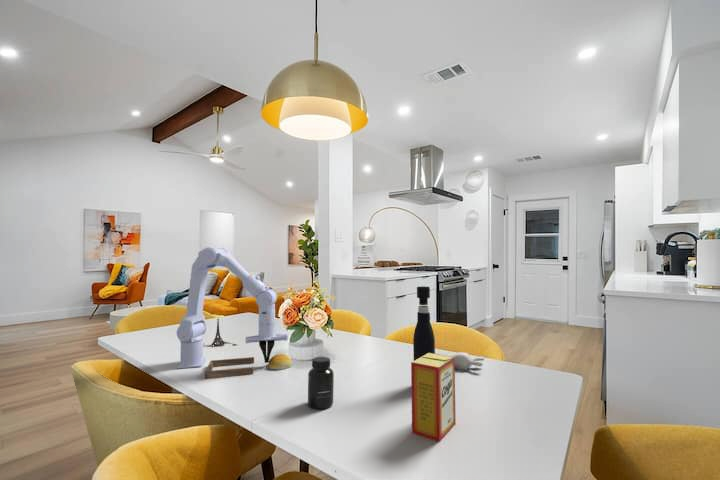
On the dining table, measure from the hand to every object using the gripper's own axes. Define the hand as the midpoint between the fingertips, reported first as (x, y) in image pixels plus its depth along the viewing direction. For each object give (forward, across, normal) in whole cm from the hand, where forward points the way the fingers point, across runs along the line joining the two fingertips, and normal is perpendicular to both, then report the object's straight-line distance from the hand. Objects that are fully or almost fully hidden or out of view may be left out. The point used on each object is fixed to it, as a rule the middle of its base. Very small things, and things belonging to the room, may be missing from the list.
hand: (266, 361), depth 124 cm
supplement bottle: (+2, +14, -36) cm, 39 cm away
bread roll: (+2, +5, 0) cm, 5 cm away
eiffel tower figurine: (+2, -20, +37) cm, 42 cm away
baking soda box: (+2, +36, -56) cm, 67 cm away
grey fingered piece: (+2, +66, -21) cm, 69 cm away
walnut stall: (+2, -12, 0) cm, 12 cm away
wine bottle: (+2, +46, -34) cm, 57 cm away
